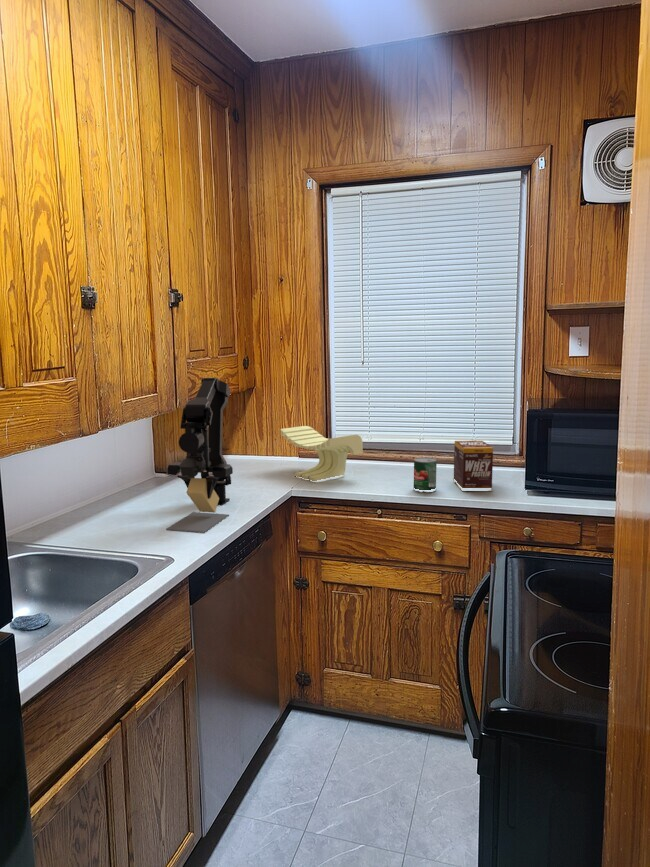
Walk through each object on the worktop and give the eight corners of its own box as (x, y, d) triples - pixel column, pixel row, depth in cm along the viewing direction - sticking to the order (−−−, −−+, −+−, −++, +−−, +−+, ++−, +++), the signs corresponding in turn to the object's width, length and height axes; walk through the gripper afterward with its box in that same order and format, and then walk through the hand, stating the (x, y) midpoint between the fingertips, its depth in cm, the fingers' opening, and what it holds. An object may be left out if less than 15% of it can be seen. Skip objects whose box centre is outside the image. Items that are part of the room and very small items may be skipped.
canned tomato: (410, 491, 219) (410, 460, 217) (417, 486, 226) (417, 456, 224) (432, 494, 215) (433, 462, 213) (438, 488, 222) (439, 458, 220)
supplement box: (462, 492, 217) (463, 448, 215) (453, 481, 233) (454, 440, 230) (492, 491, 217) (493, 447, 215) (481, 481, 233) (482, 440, 230)
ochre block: (204, 497, 194) (191, 477, 185) (219, 498, 193) (206, 478, 184) (199, 511, 191) (186, 492, 182) (215, 512, 190) (202, 493, 181)
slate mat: (193, 513, 195) (193, 512, 195) (229, 515, 192) (229, 514, 192) (166, 530, 178) (166, 528, 178) (204, 533, 175) (204, 531, 175)
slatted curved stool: (362, 480, 236) (362, 433, 233) (330, 487, 226) (329, 438, 223) (312, 467, 259) (312, 424, 256) (281, 473, 248) (280, 429, 246)
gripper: (155, 450, 178) (158, 503, 180) (216, 452, 173) (218, 507, 176) (174, 443, 189) (177, 493, 191) (232, 445, 184) (234, 497, 186)
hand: (200, 497), depth 186 cm, fingers closed on ochre block, 5 cm apart
